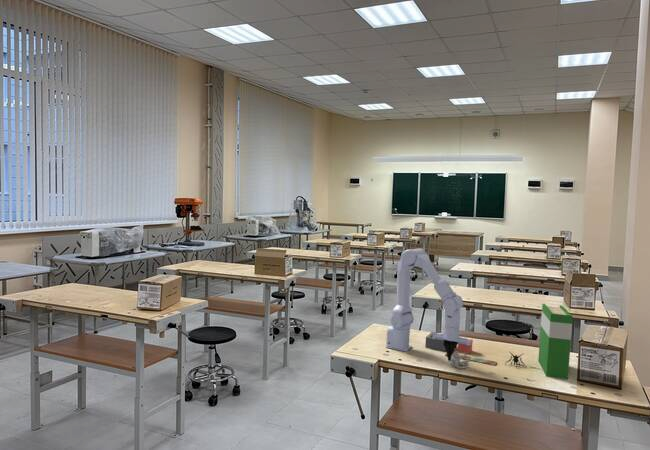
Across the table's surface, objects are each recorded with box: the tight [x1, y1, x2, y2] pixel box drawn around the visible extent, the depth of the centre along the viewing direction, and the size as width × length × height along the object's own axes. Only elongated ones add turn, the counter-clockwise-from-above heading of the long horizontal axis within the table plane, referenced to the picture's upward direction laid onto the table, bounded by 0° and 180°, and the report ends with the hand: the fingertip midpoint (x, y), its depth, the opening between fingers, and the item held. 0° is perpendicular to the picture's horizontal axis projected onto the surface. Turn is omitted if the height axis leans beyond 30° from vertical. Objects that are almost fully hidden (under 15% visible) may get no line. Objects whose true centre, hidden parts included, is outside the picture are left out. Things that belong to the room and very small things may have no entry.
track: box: [445, 352, 498, 366], centre depth 188 cm, size 20×4×1 cm, turn 62°
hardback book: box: [537, 303, 573, 380], centre depth 179 cm, size 18×7×24 cm, turn 164°
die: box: [457, 337, 474, 355], centre depth 198 cm, size 5×5×5 cm
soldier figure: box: [447, 349, 471, 370], centre depth 179 cm, size 8×5×12 cm
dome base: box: [424, 331, 446, 352], centre depth 203 cm, size 10×10×4 cm
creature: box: [504, 352, 527, 369], centre depth 183 cm, size 8×5×8 cm
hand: (449, 359), depth 183 cm, fingers closed
